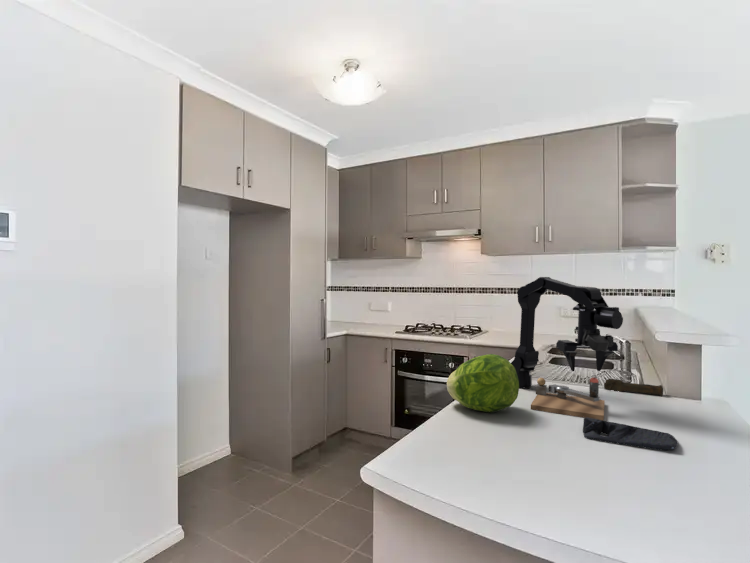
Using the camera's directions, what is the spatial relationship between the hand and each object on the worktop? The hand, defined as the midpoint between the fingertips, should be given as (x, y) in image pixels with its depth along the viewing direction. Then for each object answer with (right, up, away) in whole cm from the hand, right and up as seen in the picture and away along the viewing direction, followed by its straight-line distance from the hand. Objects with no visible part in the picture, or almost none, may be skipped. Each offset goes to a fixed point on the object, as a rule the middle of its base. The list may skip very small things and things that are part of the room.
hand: (585, 371), depth 141 cm
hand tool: (+26, -12, +17) cm, 34 cm away
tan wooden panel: (-6, -12, -1) cm, 14 cm away
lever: (-4, -9, +1) cm, 10 cm away
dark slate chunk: (-2, -13, -27) cm, 30 cm away
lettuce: (-36, -12, -3) cm, 38 cm away
